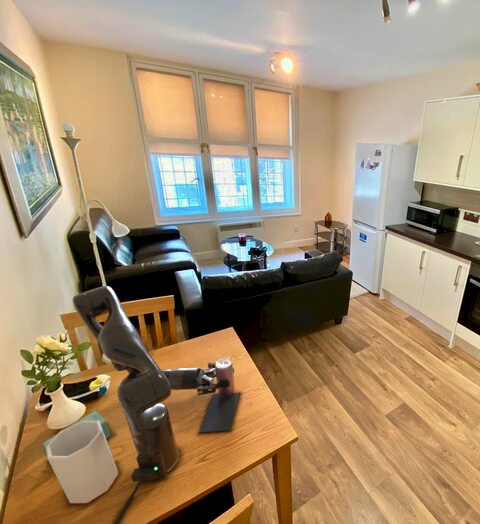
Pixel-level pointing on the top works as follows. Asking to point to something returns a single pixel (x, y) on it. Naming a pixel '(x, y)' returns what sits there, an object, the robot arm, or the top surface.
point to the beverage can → (225, 376)
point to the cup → (82, 461)
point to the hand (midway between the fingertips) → (231, 377)
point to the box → (91, 417)
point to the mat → (220, 414)
